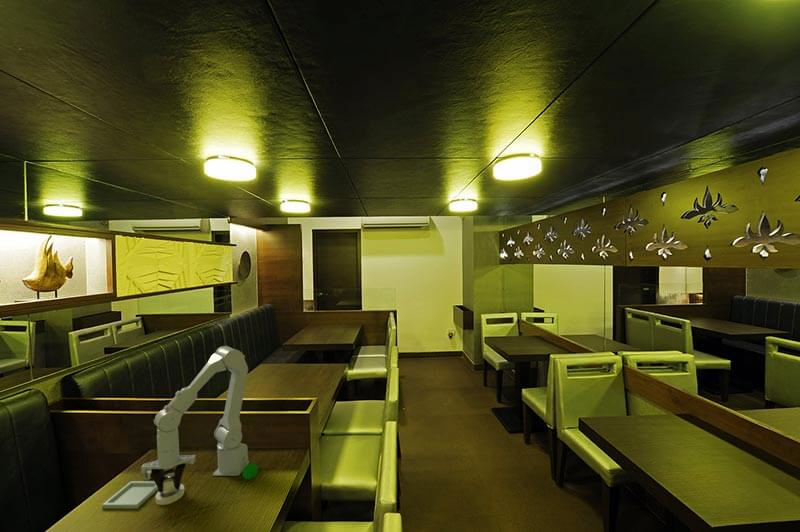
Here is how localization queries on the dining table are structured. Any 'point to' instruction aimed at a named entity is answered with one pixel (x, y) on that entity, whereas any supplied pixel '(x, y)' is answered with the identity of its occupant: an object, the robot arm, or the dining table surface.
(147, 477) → the pipe fitting
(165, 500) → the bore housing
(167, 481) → the metal cylinder
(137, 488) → the tray
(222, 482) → the dining table surface
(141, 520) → the dining table surface
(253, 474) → the polyhedron
